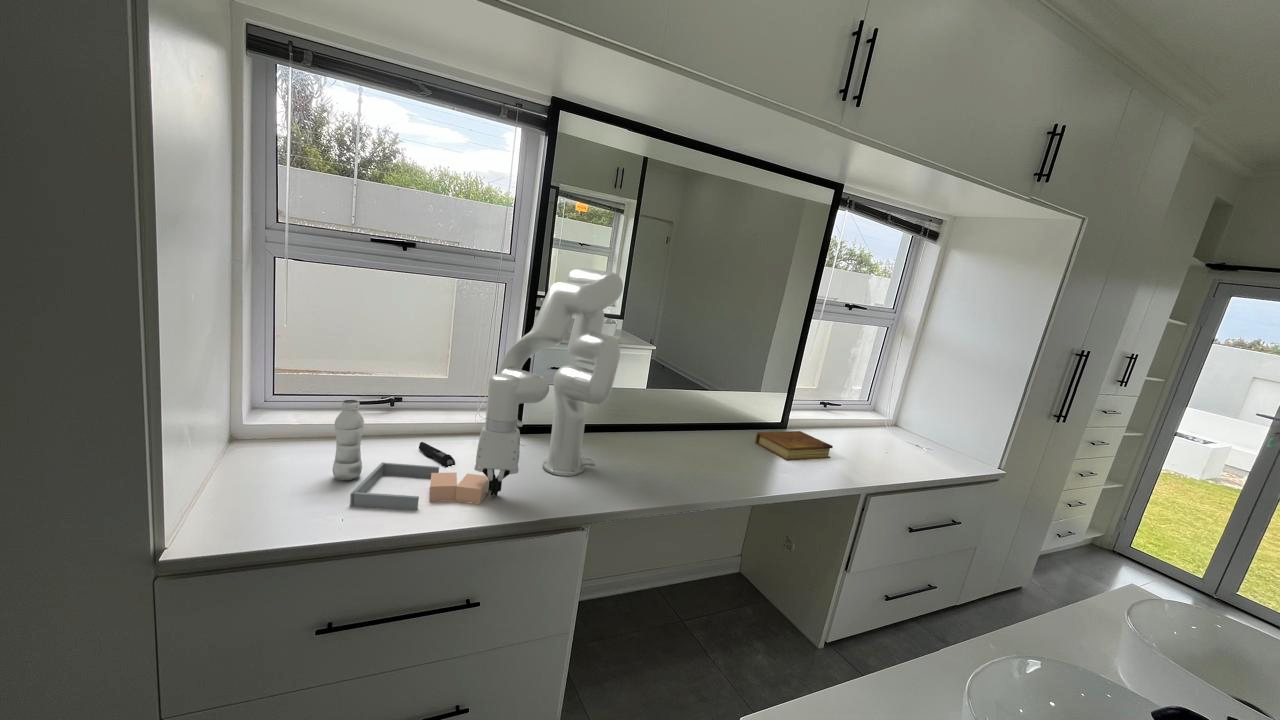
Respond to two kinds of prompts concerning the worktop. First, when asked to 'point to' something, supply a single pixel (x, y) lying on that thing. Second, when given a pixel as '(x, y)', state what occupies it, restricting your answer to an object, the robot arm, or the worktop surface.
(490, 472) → the robot arm
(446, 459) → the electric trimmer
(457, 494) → the tile
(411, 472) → the organizer bay
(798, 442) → the diary
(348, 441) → the plastic bottle
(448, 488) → the tile
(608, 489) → the worktop surface
